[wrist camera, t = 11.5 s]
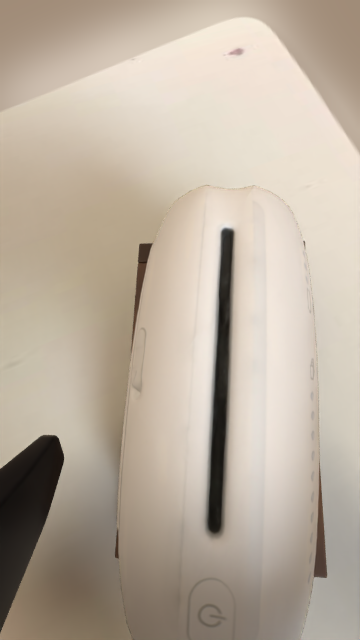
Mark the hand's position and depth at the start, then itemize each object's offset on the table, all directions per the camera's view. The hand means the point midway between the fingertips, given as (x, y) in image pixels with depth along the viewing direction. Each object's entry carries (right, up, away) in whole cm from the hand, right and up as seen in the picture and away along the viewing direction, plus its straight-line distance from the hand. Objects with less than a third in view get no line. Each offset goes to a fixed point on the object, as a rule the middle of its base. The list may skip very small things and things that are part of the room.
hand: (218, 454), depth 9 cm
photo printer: (+1, -1, +9) cm, 9 cm away
